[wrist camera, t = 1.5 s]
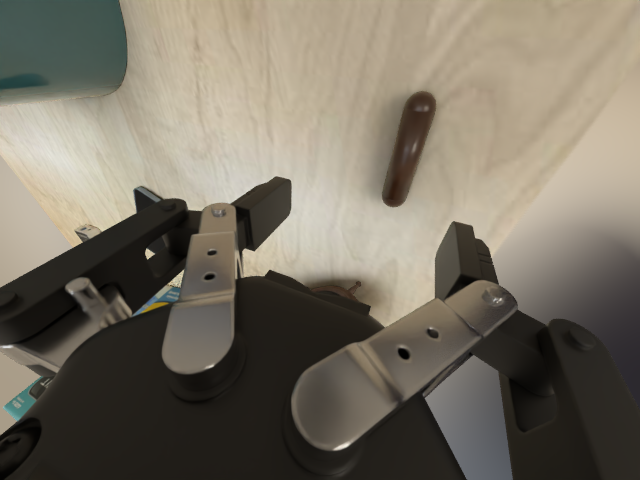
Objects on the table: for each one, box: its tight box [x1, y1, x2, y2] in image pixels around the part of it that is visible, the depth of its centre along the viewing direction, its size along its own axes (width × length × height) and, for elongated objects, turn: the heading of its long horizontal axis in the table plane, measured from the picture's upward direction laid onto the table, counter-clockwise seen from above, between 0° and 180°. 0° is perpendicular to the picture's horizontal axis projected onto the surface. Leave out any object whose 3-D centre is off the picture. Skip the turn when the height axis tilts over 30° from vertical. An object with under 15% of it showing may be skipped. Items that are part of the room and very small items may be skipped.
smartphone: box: [133, 187, 166, 254], centre depth 41 cm, size 7×1×15 cm
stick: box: [382, 91, 436, 207], centre depth 20 cm, size 9×2×2 cm, turn 176°
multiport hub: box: [74, 224, 101, 242], centre depth 54 cm, size 4×11×2 cm, turn 1°
